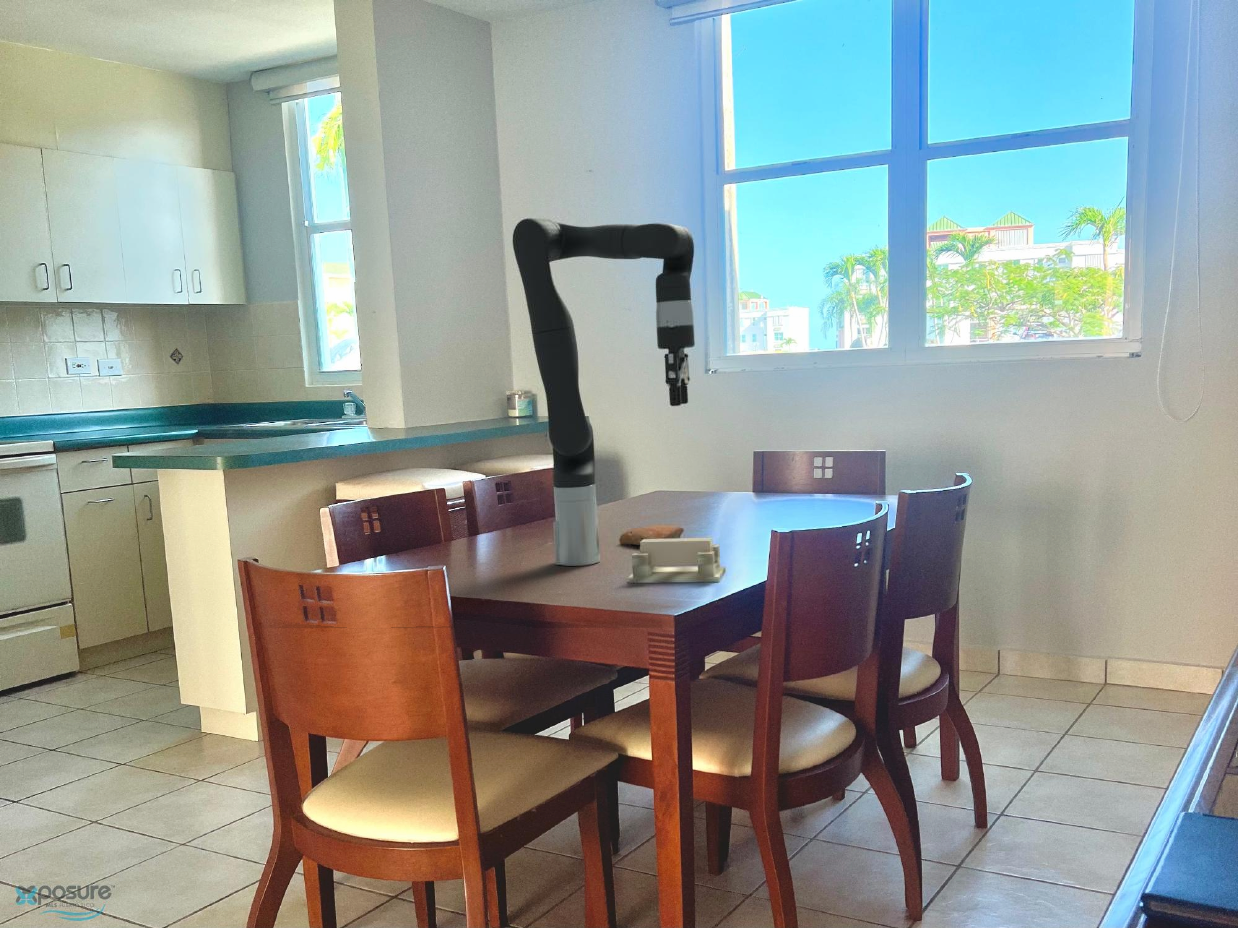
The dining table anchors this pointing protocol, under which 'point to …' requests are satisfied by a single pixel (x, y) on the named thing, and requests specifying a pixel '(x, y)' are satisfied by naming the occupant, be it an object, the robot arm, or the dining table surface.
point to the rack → (678, 569)
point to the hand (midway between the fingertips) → (679, 404)
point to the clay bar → (675, 551)
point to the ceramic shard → (650, 534)
